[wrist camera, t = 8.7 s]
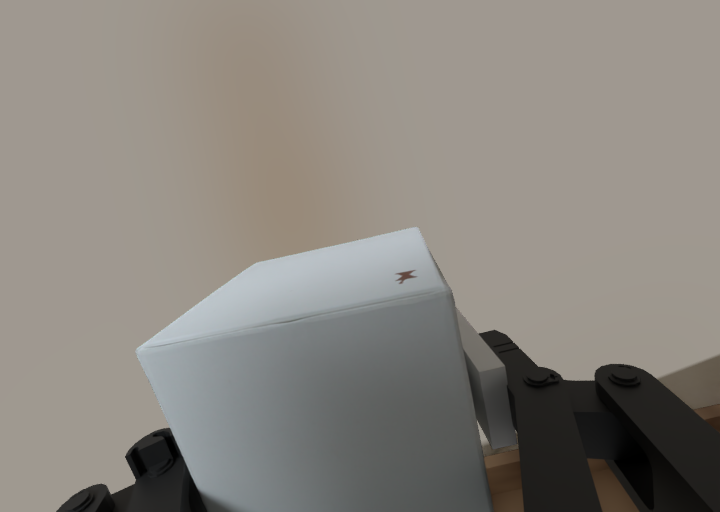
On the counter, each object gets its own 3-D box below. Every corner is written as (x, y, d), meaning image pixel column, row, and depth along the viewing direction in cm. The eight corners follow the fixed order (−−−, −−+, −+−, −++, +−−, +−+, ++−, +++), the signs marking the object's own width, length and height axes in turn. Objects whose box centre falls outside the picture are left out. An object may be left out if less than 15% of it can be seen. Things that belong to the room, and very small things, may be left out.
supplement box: (474, 475, 16) (425, 221, 13) (535, 715, 9) (458, 283, 6) (328, 489, 17) (254, 258, 15) (282, 712, 10) (119, 346, 7)
